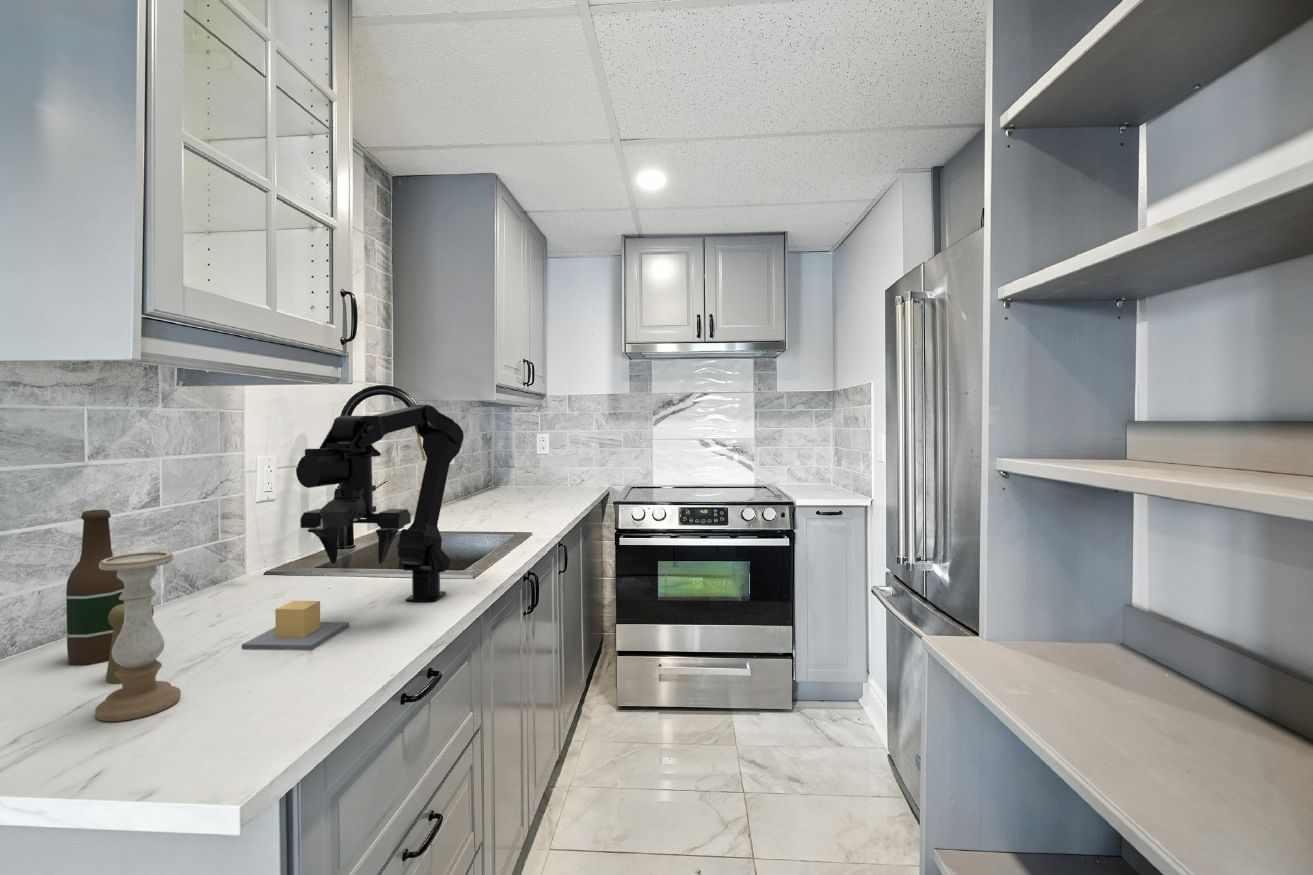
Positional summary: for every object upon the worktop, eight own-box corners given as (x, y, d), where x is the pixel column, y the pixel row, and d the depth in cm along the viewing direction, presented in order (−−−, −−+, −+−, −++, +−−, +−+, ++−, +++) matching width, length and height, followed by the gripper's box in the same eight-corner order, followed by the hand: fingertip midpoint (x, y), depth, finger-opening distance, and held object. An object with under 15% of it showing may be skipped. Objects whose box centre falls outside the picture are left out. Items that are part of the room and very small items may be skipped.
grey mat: (286, 625, 115) (286, 621, 115) (349, 626, 115) (349, 621, 115) (241, 648, 103) (241, 644, 103) (311, 649, 103) (311, 645, 103)
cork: (97, 678, 91) (96, 605, 90) (146, 664, 96) (145, 595, 96) (116, 686, 88) (115, 611, 88) (165, 671, 93) (165, 600, 93)
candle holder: (196, 697, 84) (194, 552, 84) (123, 727, 76) (120, 566, 76) (153, 688, 87) (151, 548, 87) (78, 716, 79) (76, 561, 79)
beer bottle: (78, 651, 101) (76, 508, 101) (137, 645, 104) (135, 506, 104) (54, 669, 94) (52, 515, 94) (118, 661, 97) (116, 512, 97)
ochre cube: (293, 627, 111) (293, 600, 111) (320, 628, 111) (320, 600, 111) (275, 637, 106) (275, 608, 106) (303, 637, 106) (303, 609, 106)
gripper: (279, 486, 107) (282, 574, 108) (383, 486, 107) (385, 574, 107) (317, 480, 118) (319, 559, 119) (411, 480, 118) (412, 559, 118)
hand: (357, 563), depth 116 cm, fingers open, 9 cm apart
